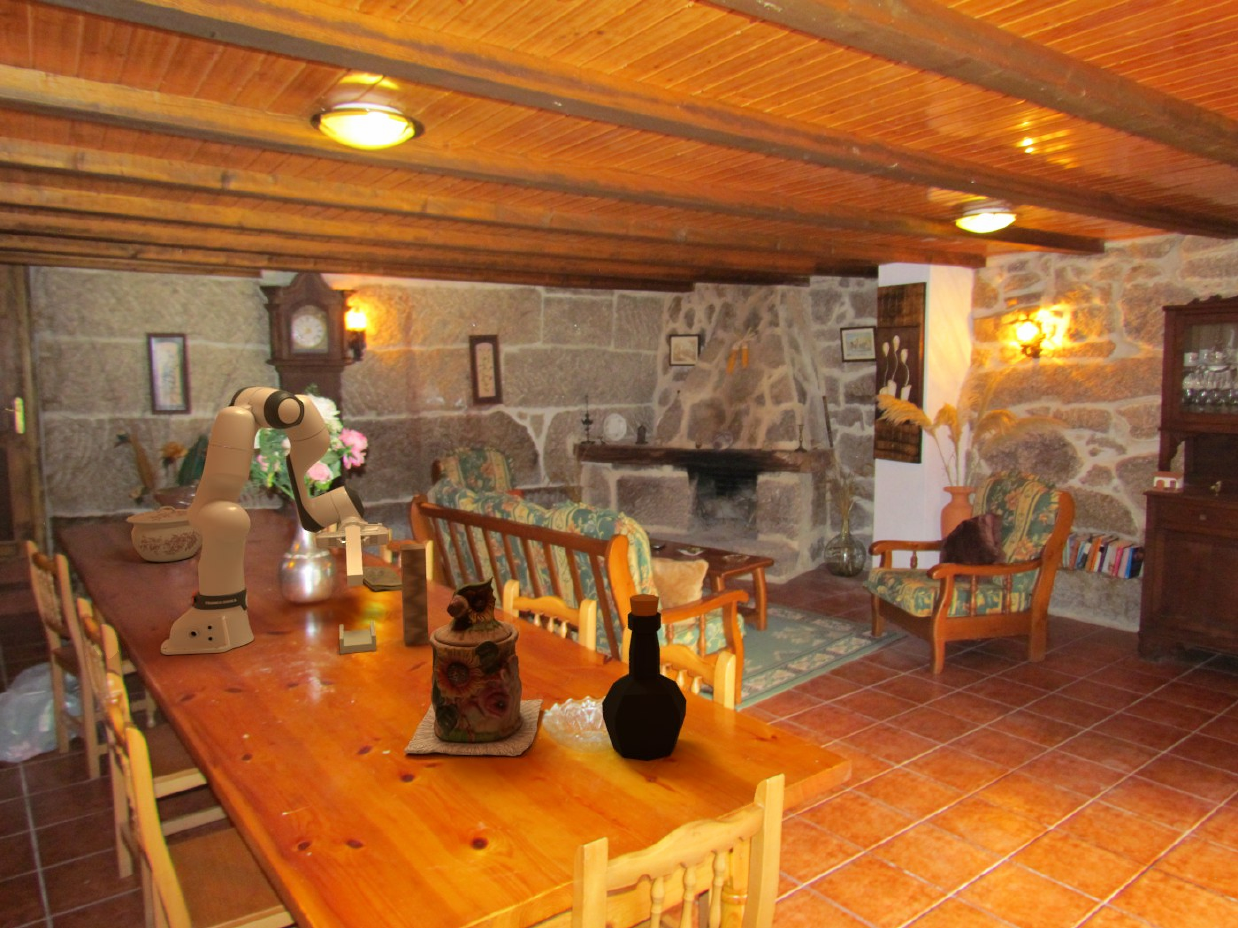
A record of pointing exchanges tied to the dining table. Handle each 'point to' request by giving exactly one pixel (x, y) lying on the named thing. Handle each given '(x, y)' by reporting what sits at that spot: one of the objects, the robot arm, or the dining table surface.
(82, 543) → the dining table surface
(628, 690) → the bottle
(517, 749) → the cookie jar
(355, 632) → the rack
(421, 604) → the plinth
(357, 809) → the dining table surface
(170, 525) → the chamber pot
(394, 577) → the stone slab
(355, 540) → the beige rectangular bar
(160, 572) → the dining table surface
